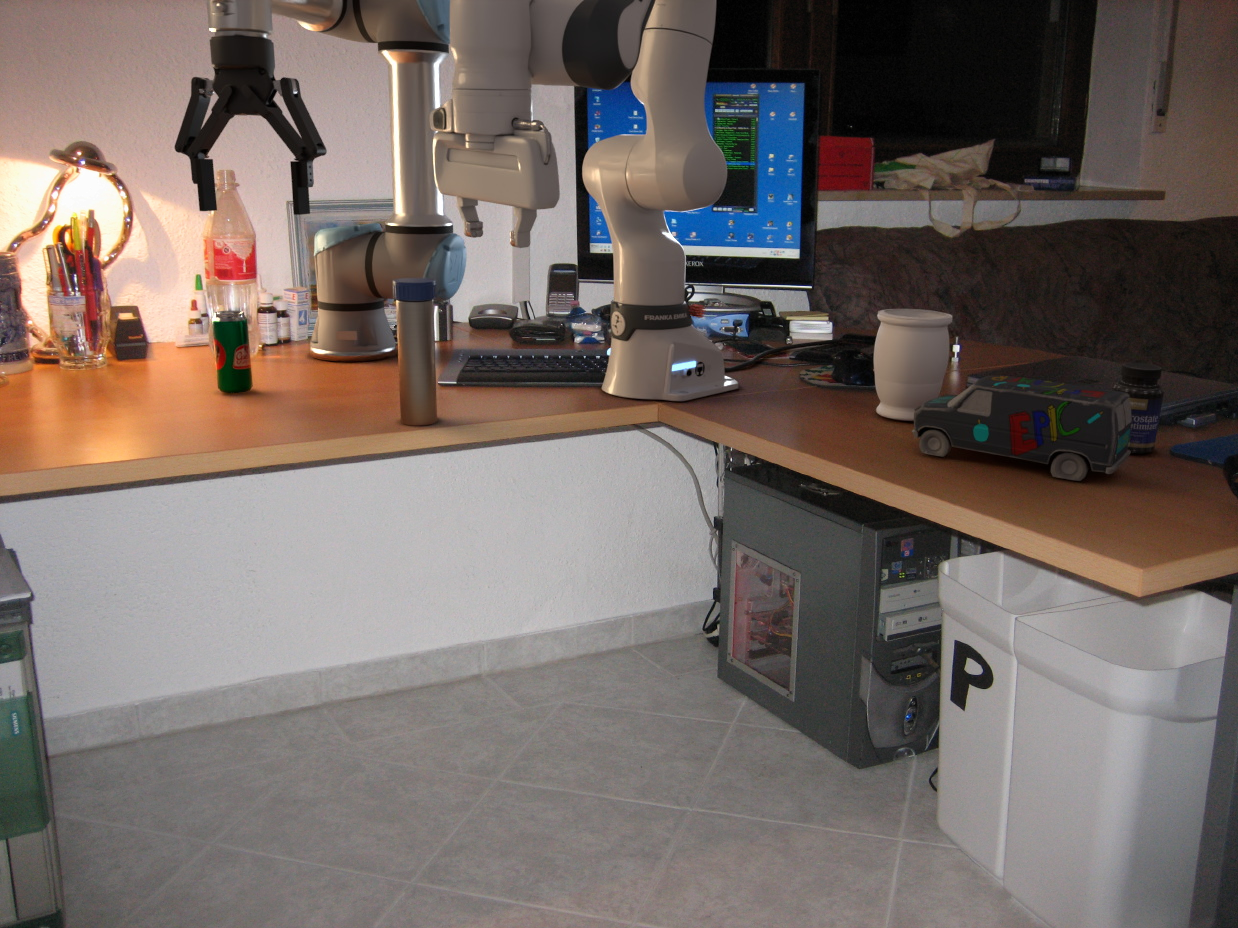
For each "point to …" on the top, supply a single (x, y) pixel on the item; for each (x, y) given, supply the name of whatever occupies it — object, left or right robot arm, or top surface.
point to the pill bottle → (1142, 403)
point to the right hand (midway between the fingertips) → (496, 241)
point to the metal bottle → (416, 362)
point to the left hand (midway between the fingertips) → (254, 213)
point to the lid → (414, 289)
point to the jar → (909, 359)
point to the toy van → (1031, 424)
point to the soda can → (232, 352)
